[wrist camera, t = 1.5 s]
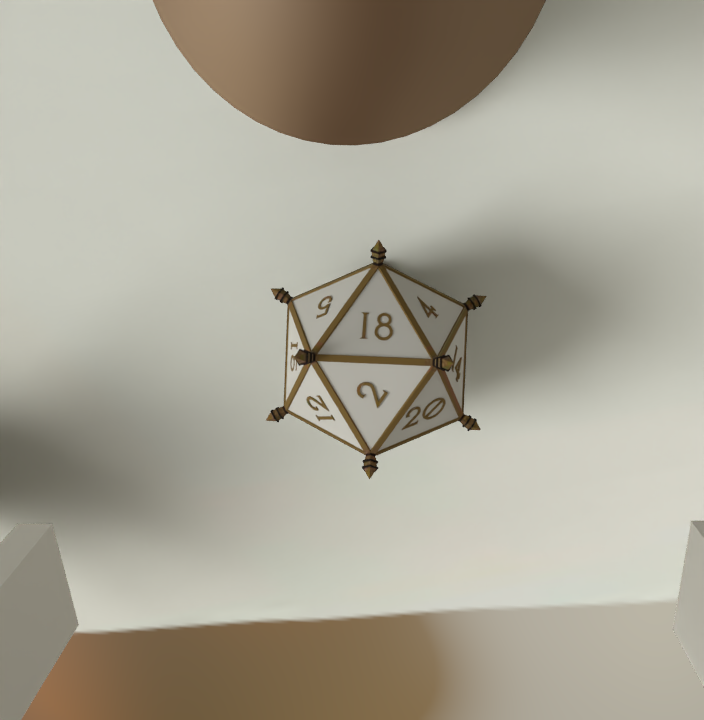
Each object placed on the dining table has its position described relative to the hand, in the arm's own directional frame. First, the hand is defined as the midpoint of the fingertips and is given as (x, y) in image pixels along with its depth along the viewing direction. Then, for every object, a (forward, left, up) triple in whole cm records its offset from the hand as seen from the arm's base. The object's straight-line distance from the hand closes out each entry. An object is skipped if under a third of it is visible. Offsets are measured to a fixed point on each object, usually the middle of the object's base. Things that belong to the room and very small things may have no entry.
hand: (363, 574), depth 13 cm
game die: (0, 0, -17) cm, 17 cm away
